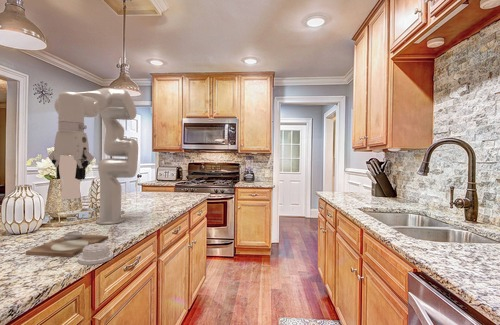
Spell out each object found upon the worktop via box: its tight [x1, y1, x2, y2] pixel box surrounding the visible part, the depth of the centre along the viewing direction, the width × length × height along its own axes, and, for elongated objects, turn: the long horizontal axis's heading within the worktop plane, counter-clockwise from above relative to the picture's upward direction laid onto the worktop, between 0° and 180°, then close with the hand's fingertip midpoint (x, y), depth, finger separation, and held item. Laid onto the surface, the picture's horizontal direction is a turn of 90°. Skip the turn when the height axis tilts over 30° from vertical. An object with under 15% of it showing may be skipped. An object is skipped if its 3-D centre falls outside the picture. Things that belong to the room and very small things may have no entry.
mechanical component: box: [77, 242, 114, 266], centre depth 87 cm, size 10×4×10 cm
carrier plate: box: [25, 232, 109, 258], centre depth 98 cm, size 20×16×2 cm
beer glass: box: [59, 155, 82, 200], centre depth 95 cm, size 7×7×15 cm
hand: (70, 178), depth 95 cm, fingers closed on beer glass, 6 cm apart
